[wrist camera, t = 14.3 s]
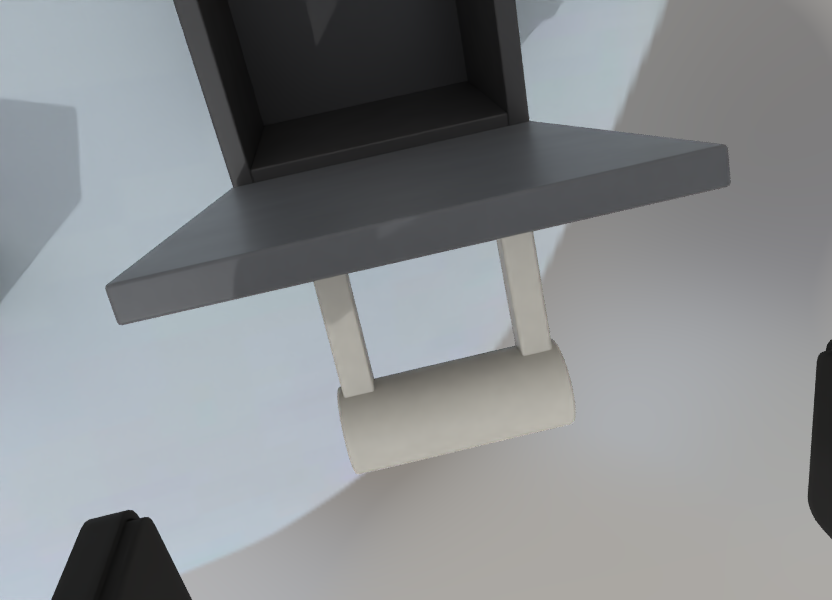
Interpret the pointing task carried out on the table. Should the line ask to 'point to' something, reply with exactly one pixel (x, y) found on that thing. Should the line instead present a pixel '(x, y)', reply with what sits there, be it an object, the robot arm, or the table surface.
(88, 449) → the table surface
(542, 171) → the brewer lid
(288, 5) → the dark grey storage bin
